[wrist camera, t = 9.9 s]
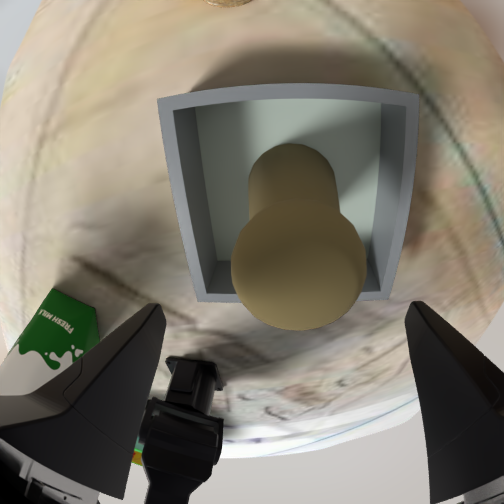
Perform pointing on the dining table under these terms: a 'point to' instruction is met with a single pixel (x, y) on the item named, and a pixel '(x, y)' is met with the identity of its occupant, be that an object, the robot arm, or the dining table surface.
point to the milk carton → (49, 344)
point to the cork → (296, 243)
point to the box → (278, 133)
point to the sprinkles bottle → (226, 2)
